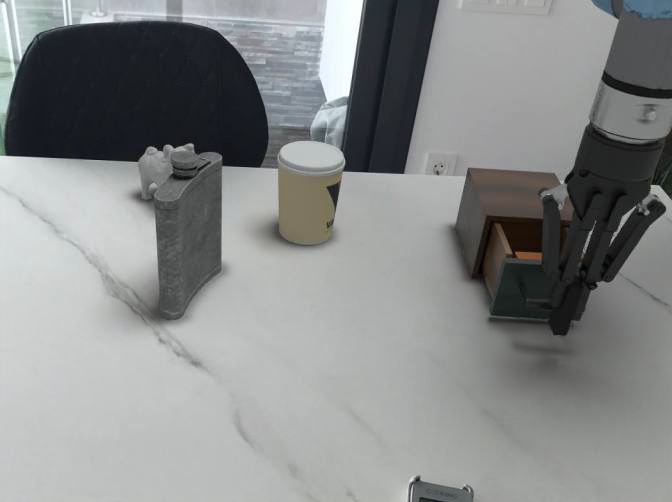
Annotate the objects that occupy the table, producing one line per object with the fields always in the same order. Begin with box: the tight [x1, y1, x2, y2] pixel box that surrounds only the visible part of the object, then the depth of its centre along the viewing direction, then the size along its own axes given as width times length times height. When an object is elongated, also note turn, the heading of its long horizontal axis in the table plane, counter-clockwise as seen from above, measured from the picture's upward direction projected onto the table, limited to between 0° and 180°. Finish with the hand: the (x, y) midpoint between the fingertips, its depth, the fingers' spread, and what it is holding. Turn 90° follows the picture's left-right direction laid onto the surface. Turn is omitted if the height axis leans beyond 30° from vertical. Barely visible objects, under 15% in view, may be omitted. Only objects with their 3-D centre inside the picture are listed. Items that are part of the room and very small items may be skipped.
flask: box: [153, 151, 223, 321], centre depth 94 cm, size 4×14×18 cm, turn 160°
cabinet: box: [454, 167, 574, 280], centre depth 109 cm, size 15×13×10 cm
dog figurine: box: [137, 143, 195, 201], centre depth 114 cm, size 5×13×11 cm, turn 44°
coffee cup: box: [276, 140, 346, 246], centre depth 109 cm, size 9×9×12 cm
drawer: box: [480, 221, 592, 322], centre depth 98 cm, size 18×11×8 cm, turn 179°
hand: (557, 328), depth 90 cm, fingers closed
